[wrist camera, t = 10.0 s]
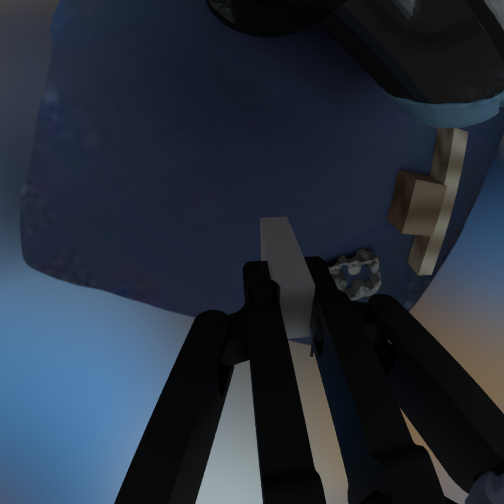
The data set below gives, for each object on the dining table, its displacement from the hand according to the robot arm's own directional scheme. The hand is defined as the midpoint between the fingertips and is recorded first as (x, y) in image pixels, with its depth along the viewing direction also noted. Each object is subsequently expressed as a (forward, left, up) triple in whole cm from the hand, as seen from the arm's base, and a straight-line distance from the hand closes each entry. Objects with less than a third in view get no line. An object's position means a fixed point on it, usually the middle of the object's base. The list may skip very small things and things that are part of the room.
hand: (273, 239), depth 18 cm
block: (+4, +25, -23) cm, 34 cm away
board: (+3, +29, -23) cm, 38 cm away
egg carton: (+17, +16, -24) cm, 34 cm away
